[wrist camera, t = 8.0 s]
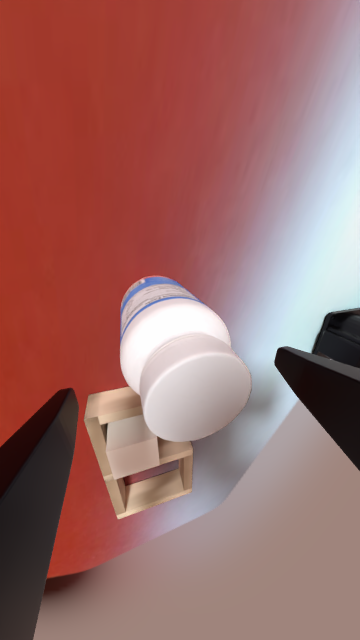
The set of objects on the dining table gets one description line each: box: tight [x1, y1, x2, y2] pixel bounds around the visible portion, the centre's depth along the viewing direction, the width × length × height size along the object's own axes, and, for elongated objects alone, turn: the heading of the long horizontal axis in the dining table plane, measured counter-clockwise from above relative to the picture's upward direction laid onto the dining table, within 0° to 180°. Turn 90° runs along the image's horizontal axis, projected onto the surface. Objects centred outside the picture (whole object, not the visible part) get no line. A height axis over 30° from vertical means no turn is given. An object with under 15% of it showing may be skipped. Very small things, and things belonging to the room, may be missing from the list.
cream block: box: [106, 414, 160, 480], centre depth 18 cm, size 4×4×4 cm
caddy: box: [84, 387, 193, 519], centre depth 20 cm, size 9×17×2 cm, turn 1°
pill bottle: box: [120, 276, 252, 442], centre depth 11 cm, size 6×5×10 cm
